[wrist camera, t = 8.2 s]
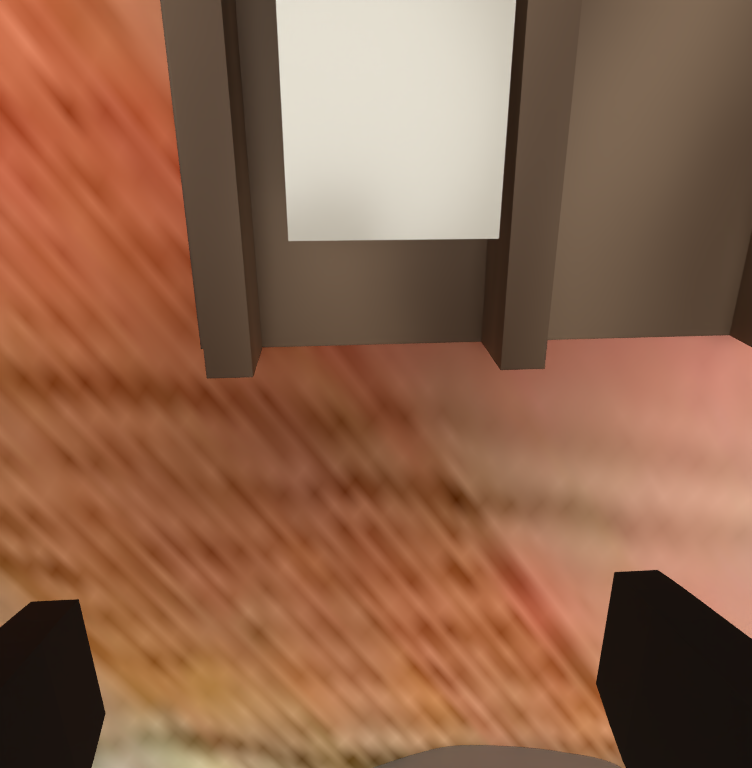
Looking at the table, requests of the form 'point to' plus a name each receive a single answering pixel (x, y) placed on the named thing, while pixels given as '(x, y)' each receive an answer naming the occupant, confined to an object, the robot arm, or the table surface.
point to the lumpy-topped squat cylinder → (496, 758)
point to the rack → (519, 193)
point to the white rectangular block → (394, 117)
